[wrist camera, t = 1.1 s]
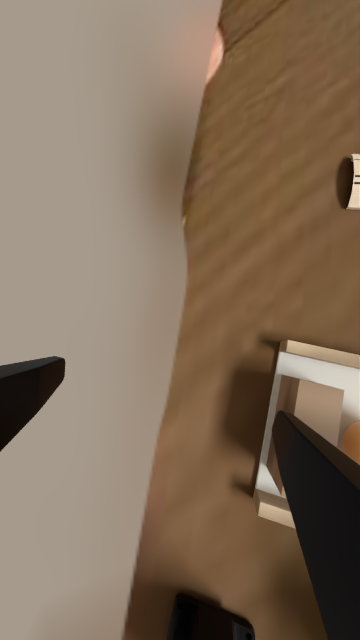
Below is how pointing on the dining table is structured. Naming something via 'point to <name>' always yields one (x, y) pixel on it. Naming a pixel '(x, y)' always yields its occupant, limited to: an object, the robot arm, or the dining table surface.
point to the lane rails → (265, 501)
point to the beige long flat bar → (355, 184)
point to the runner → (353, 382)
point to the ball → (352, 442)
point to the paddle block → (307, 413)
